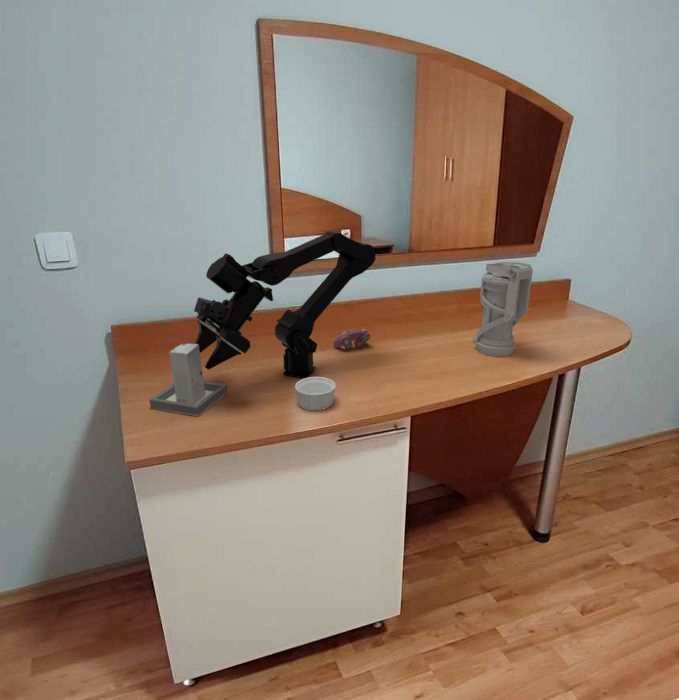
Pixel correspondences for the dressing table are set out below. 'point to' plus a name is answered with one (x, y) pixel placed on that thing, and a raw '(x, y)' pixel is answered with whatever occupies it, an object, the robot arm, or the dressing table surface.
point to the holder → (168, 403)
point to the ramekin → (315, 392)
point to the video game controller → (352, 338)
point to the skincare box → (187, 373)
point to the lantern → (502, 306)
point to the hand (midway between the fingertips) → (199, 361)
